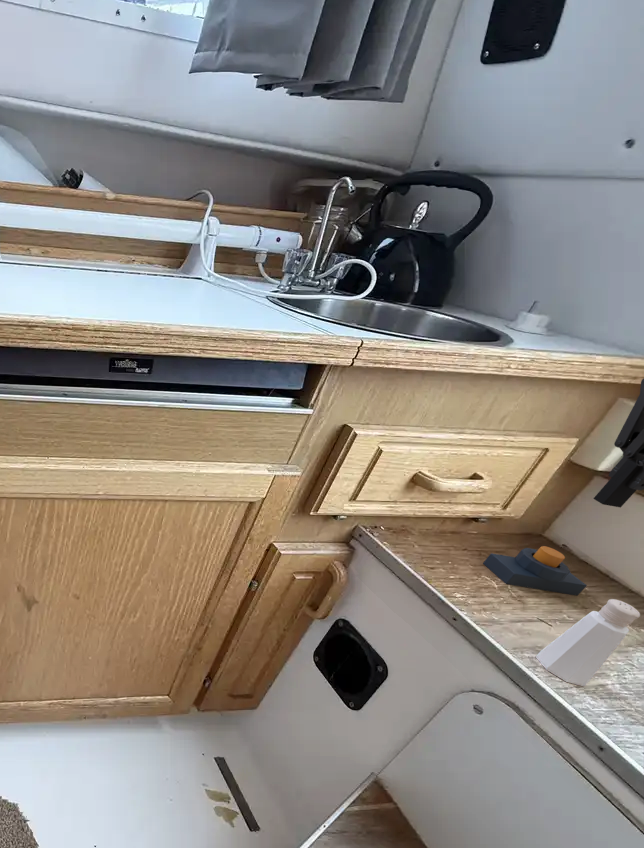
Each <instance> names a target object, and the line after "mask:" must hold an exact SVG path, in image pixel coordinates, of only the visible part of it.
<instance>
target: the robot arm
mask: <svg viewBox="0 0 644 848" xmlns="http://www.w3.org/2000/svg"><path fill="white" fill-rule="evenodd" d="M614 447H615V448H618V449H619V450H620V451H621V452H622V458H620V460H619V461H618V462H617V463H616V464H615V465H614V467H613V468H612V469H611V470H610V471H609V474H608V477H610V479H609V480H608V481H607V482H606V483H605V484H604V485H603V487H601V489H600V490H599V491H598V492H597V493H596V495H594V497H593V499H594V500H595V501H596V502H598V503H599V504H601V505H605V506H608V507H609V506H610V507H614V508H620V509H621V508H622V507H623V506H624V505H625V504H626V502H627V501H628V500H630V498H631V497H632V496H633V495H634V494H635V493H636V492H637V491H643V490H644V378H642V379H641V381H640V389H639V395H638V397H637V399H636V401H635V402H634V404H633V406H632V408H631V410H630V412H629V414H628V416H627V418H626V420H625V422H624V423H623V425H622V427H621V429H620V431H619V433H618V435H617V437H616V439H615V441H614Z"/></svg>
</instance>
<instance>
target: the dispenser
mask: <svg viewBox="0 0 644 848" xmlns="http://www.w3.org/2000/svg"><path fill="white" fill-rule="evenodd" d="M537 551H538V549H535V548H530V547H524V548H523V549H521V550H520V551H519V552H518V554H516V556H510V555H505V554H497V553H492V552H491V553H489V555H488V556H487V557H486V559H485V560H484V561H483V563H482V564H483V565H484V566H485V567H486V568H487V569H488V570H489V571H491V572H492V573H493V574H494V575H495V576H496V577H497V578H499V579H500V580H501V581H502V582H503V583H504V584H505V585H510V586H515V587H521V588H522V587H523V588H529V589H533V590H534V589H535V590H539V591H545V592H546V591H547V592H552V593H559V594H564V595H570V596H579V595H580V594H581V593H582V591H583V590H585V589H586V587H587V586H588V585H587V584H586V583H585V582H583V581H582V580H580V579H579V578H578V577H577V576H576V575H574V574H573V573H571V570H570V568H569V567H568V566H567V564H565V563H564V562H563V561H562V562H561V563H560V564H559V565H558V566H557V567H556V568H554V567H550V566H548V565H545V564H543V563H541V562H540V561H538V560H536V559H535V558H534V557H533V555H534V554H535V553H536V552H537Z"/></svg>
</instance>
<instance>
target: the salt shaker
mask: <svg viewBox="0 0 644 848" xmlns="http://www.w3.org/2000/svg"><path fill="white" fill-rule="evenodd" d="M640 617H641V612H639V610H637V608H635V607H634V606H632V605H631V604H630V603H627V602H625V601H622V600H620V599H616V598H610V599H608V600H607V602H606V604H604V605H603V606H602V607H601V609H600V610H599V611H596V610H592V611H590V612H589V613H587V614H586V615H585V616H583V617H582V618H581V619H579V620H578V621H577V622H576V623H574V624H573V625H571V626H570V627H569V628H568V629H566V630H565V631H563V633H562V634H560V635H559V636H557V637H556V638H555V639H553V641H551V642H550V643H548V644H547V645H546V646H545V647H544V648H542V649H541V650H540V651H538V653H537V654H536V656H535V657H536V659H537V660H538V662H539V663H540V664H541V665H542V666H543V668H544V669H545V670H546V671H548V672H549V673H551V674H552V675H554V676H556V677H558V678H559V679H561V680H563V681H564V682H566V683H569V684H573V685H577V686H581V687H586V685H587V684H589V682H590V681H591V679H593V677H594V676H595V674H596V673H597V672H598V671H599V670H600V669H601V667H602V666H603V665H604V663H605V662H606V661H607V660H608V658H610V657H611V655H612V654H613V652H615V650H616V649H617V648H618V646H619V645H620V644H621V643H622V641H623V640H624V639H625V638H626V636H627V635H628V633H629V632H630V629H629V628H628V627H629V625H631V624H632V623H633V622H635V620H637V619H639V618H640Z"/></svg>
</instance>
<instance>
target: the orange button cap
mask: <svg viewBox="0 0 644 848" xmlns="http://www.w3.org/2000/svg"><path fill="white" fill-rule="evenodd" d="M537 550H538V551H537V552H536V553H535V554H534V555H533V557H534V558H535V559H536V560H538V561H540V562H541V563H543V564H545V565H548V566H550V567H554V568H556V567H557V566H558V565H559V564H560V563H561V562H562V563H563V561H564V560H565V558H566V556H565V555H564V553H562V552H560V551H558V550H556V549H554V548H552V547H550V546H546V545H542V546H540V547H539V548H538V549H537Z"/></svg>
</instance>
